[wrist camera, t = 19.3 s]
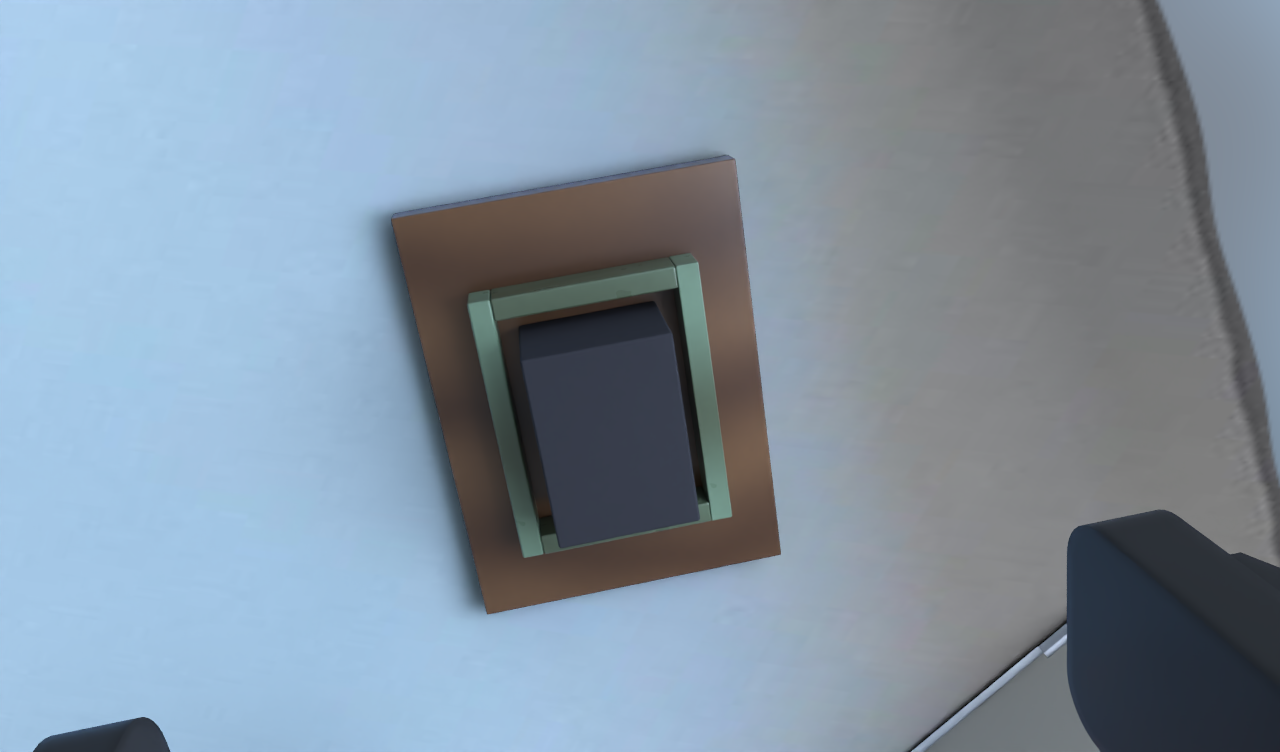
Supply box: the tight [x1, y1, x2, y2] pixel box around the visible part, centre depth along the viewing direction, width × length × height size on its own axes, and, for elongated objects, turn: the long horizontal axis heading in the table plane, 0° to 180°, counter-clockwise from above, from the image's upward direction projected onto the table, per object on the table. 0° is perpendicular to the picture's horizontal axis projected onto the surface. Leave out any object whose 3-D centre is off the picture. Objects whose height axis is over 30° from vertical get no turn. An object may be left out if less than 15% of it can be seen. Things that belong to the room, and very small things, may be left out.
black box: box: [518, 301, 700, 548], centre depth 35 cm, size 7×5×4 cm
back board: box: [391, 155, 781, 614], centre depth 37 cm, size 16×12×2 cm
